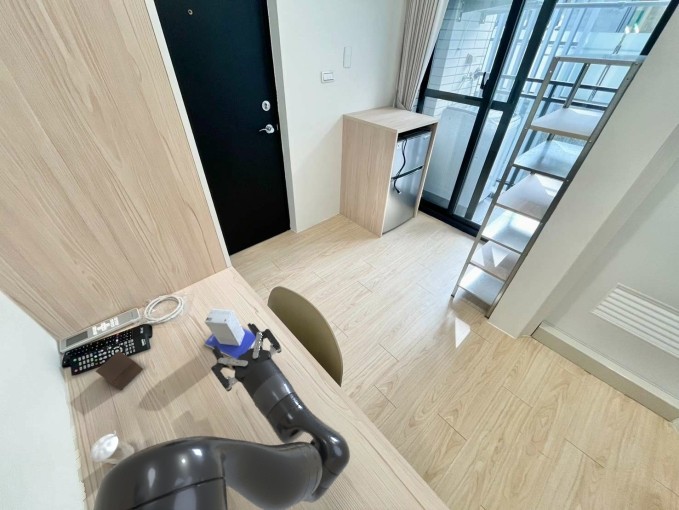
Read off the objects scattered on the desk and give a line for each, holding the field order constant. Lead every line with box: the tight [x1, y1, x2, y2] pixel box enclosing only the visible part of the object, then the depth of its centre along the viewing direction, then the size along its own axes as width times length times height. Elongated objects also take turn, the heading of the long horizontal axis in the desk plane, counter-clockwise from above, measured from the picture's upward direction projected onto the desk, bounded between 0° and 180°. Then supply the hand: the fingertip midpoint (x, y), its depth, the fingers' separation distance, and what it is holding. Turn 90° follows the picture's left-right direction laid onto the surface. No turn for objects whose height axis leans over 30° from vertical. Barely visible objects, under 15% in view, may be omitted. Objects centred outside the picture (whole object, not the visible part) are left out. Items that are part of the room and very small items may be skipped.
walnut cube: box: [95, 350, 144, 391], centre depth 69 cm, size 6×6×5 cm
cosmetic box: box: [204, 308, 245, 346], centre depth 72 cm, size 6×4×12 cm
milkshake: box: [89, 428, 136, 465], centre depth 55 cm, size 4×5×10 cm
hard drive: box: [204, 328, 256, 359], centre depth 77 cm, size 2×8×12 cm
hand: (232, 336), depth 64 cm, fingers open, 8 cm apart
